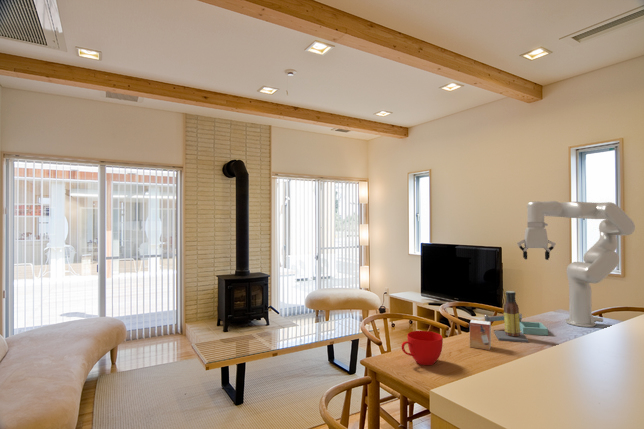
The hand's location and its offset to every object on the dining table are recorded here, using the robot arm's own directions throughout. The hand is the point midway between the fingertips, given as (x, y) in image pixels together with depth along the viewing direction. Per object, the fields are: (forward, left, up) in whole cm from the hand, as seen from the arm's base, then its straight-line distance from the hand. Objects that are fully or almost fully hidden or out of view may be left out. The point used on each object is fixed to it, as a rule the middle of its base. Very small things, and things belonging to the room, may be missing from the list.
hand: (536, 259), depth 194 cm
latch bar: (+17, +10, -29) cm, 35 cm away
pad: (+17, +25, -33) cm, 45 cm away
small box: (+32, +42, -34) cm, 63 cm away
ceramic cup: (+56, +67, -34) cm, 94 cm away
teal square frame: (+6, +11, -33) cm, 35 cm away
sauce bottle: (+16, +25, -32) cm, 44 cm away
